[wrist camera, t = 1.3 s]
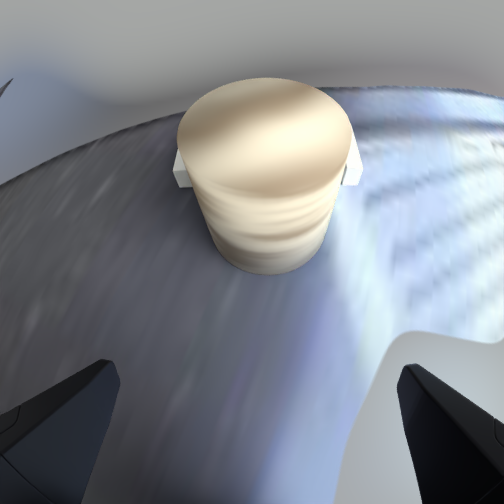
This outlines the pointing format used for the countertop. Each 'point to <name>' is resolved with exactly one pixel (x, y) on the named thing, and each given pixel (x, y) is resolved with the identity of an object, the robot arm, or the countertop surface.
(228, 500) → the countertop surface
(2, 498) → the robot arm
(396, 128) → the countertop surface
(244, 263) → the birch canister
